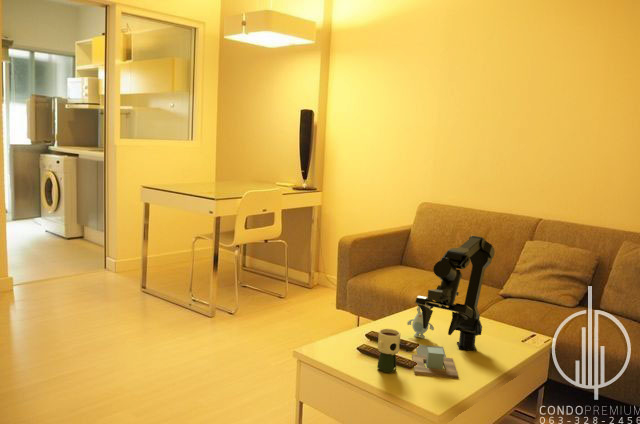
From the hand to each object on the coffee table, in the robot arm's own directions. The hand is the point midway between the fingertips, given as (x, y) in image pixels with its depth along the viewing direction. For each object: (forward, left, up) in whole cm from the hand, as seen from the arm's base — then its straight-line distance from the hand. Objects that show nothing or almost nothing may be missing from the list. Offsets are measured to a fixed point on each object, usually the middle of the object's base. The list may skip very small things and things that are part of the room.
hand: (436, 331), depth 176 cm
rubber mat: (-19, +1, -15) cm, 24 cm away
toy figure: (-33, -2, -15) cm, 36 cm away
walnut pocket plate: (-6, +1, -15) cm, 16 cm away
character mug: (0, -15, -15) cm, 21 cm away
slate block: (-6, +1, -15) cm, 16 cm away
